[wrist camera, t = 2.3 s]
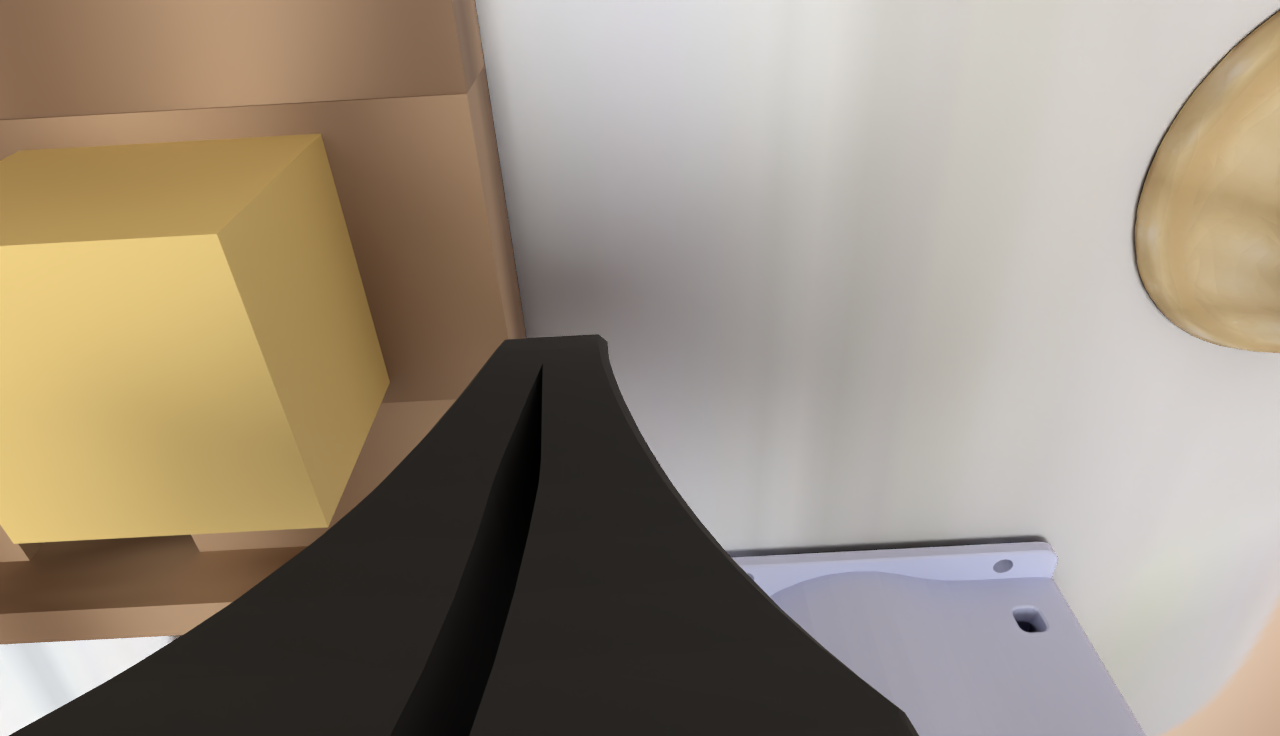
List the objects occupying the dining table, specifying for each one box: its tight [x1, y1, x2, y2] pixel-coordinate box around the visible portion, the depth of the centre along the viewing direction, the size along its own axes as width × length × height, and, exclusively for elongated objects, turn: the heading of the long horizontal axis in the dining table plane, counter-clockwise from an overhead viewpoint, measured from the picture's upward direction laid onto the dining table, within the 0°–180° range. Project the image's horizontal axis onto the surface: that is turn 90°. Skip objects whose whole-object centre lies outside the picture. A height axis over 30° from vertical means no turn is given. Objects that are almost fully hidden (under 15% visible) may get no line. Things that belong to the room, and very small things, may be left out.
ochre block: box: [0, 134, 390, 544], centre depth 13 cm, size 5×5×4 cm
